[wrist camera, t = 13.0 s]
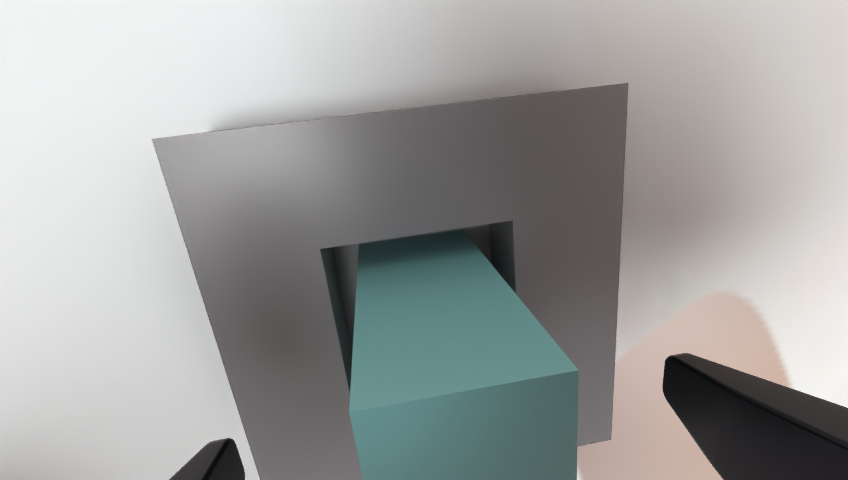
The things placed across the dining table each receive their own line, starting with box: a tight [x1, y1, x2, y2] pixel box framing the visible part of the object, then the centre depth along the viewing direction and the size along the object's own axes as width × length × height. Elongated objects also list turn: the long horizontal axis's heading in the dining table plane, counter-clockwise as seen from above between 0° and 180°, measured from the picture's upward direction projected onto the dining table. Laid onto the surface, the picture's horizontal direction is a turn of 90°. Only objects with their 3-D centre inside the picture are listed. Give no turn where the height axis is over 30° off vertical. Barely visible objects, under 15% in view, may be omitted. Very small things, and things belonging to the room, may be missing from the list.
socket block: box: [152, 83, 628, 480], centre depth 14 cm, size 12×12×4 cm
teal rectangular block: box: [349, 230, 579, 480], centre depth 10 cm, size 4×4×8 cm
